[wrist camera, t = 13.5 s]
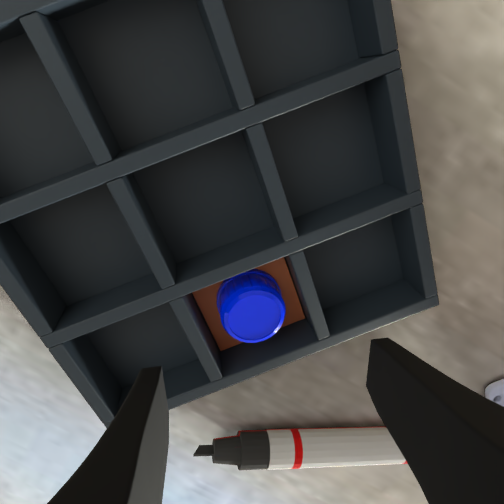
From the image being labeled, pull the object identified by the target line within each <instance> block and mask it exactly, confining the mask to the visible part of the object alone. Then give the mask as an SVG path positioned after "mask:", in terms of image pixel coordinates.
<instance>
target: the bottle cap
mask: <svg viewBox="0 0 504 504" xmlns="http://www.w3.org/2000/svg"><path fill="white" fill-rule="evenodd" d="M216 304H217V308H218V312H219V314H220V318H221V323H222V325H223V328H224V329H225V331H226V332H227V333H228V334H229V335H230V336H232V337H233V338H235V339H237V340H239V341H241V342H246V343H257V342H261V341H264V340H266V339H268V338H270V337H272V336H273V335H274V334H275V333H276V332H277V331H278V330H279V329H280V327H281V325H282V324H283V321H284V318H285V314H286V307H285V303H284V300H283V298H282V295H281V289H280V287H279V285H278V283H277V281H276V280H275V279H274V278H273V277H272V276H271V275H270V274H268V273H267V272H265V271H262V270H258V269H251V270H249V271H246V272H244V273H241V274H238V275H236V276H233V277H231V278H228V279H226V280H224V281H223V282H222V284H221V285H220V287H219V289H218V292H217V296H216Z"/></svg>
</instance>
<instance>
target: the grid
mask: <svg viewBox="0 0 504 504" xmlns="http://www.w3.org/2000/svg"><path fill="white" fill-rule="evenodd" d="M397 49H398V43H397V37H396V30H395V24H394V18H393V12H392V5H391V0H0V285H1V286H2V288H3V289H4V290H5V292H6V293H7V294H8V296H9V297H10V298H11V300H12V301H13V302H14V304H15V305H16V306H17V308H18V309H19V311H20V312H21V313H22V315H23V316H24V317H25V319H26V320H27V321H28V323H29V324H30V325H31V327H32V328H33V329H34V331H35V332H36V333H37V335H38V336H39V337H40V339H41V340H42V342H43V343H44V344H45V346H46V347H47V348H49V351H50V352H51V354H52V355H53V357H54V358H55V359H56V361H57V362H58V363H59V365H60V366H61V367H62V369H63V370H64V371H65V373H66V374H67V375H68V377H69V378H70V379H71V381H72V382H73V383H74V385H75V386H76V388H77V389H78V390H79V392H80V393H81V394H82V396H83V397H84V398H85V400H86V401H87V402H88V404H89V405H90V406H91V408H92V409H93V410H94V412H95V413H96V414H97V416H98V417H99V419H100V420H101V421H102V423H103V424H104V425H105V426H106V428H108V427H109V425H110V424H111V422H112V421H113V419H114V417H115V416H116V414H117V412H118V411H119V409H120V407H121V406H122V404H123V402H124V401H125V399H126V397H127V395H128V393H129V392H130V390H131V388H132V386H133V384H134V382H135V380H136V378H137V376H138V374H139V371H140V370H141V369H142V368H148V367H156V366H162V372H163V378H164V385H165V391H166V398H167V404H168V410H170V409H172V408H175V407H177V406H180V405H182V404H185V403H188V402H190V401H193V400H195V399H198V398H200V397H203V396H206V395H208V394H211V393H213V392H216V391H218V390H221V389H224V388H226V387H229V386H231V385H234V384H237V383H239V382H242V381H244V380H247V379H249V378H252V377H255V376H257V375H260V374H262V373H265V372H267V371H270V370H273V369H275V368H278V367H280V366H283V365H285V364H288V363H291V362H293V361H296V360H298V359H301V358H303V357H306V356H309V355H311V354H314V353H316V352H319V351H321V350H324V349H327V348H329V347H332V346H334V345H337V344H339V343H342V342H345V341H347V340H350V339H352V338H355V337H357V336H360V335H363V334H365V333H368V332H370V331H373V330H375V329H378V328H381V327H383V326H386V325H388V324H391V323H393V322H396V321H399V320H401V319H404V318H406V317H409V316H411V315H414V314H417V313H419V312H422V311H424V310H427V309H430V308H432V307H435V306H437V305H439V300H438V295H437V287H436V281H435V275H434V269H433V262H432V256H431V250H430V243H429V237H428V231H427V225H426V218H425V212H424V206H423V199H422V193H421V190H420V189H421V187H420V180H419V174H418V168H417V162H416V155H415V149H414V143H413V136H412V130H411V124H410V118H409V111H408V105H407V99H406V93H405V86H404V80H403V74H402V69H400V68H401V62H400V56H399V51H398V50H397ZM251 269H258V270H262V271H265V272H267V273H268V274H270V275H271V276H272V277H273V278H274V279H275V280H276V281H277V283H278V285H279V287H280V289H281V295H282V298H283V300H284V303H285V307H286V314H285V318H284V321H283V324H282V325H281V327H280V329H279V330H278V331H277V332H276V333H275V334H274V335H273V336H272V337H270V338H268V339H266V340H264V341H261V342H257V343H246V342H241V341H239V340H237V339H235V338H233V337H232V336H230V335H229V334H228V333H227V332H226V331H225V329H224V328H223V325H222V323H221V318H220V314H219V312H218V308H217V304H216V296H217V292H218V289H219V287H220V285H221V284H222V282H223V281H224V280H226V279H228V278H231V277H233V276H236V275H238V274H241V273H244V272H246V271H249V270H251Z"/></svg>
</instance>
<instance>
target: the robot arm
mask: <svg viewBox="0 0 504 504" xmlns="http://www.w3.org/2000/svg"><path fill="white" fill-rule="evenodd" d="M366 387H367V389H368V391H369V394H370V396H371V399H372V401H373V403H374V405H375V408H376V410H377V412H378V414H379V416H380V417H381V419H382V421H383V423H384V424H385V426H386V428H387V429H388V431H389V433H390V435H391V436H392V438H393V440H394V441H395V443H396V445H397V446H398V448H399V450H400V451H401V453H402V455H403V456H404V458H405V460H406V461H407V463H408V465H409V466H410V468H411V470H412V471H413V473H414V475H415V477H416V479H417V481H418V482H419V484H420V486H421V488H422V490H423V492H424V495H425V497H426V499H427V501H428V503H429V504H504V379H501V380H499V381H496V382H494V383H491V384H489V385H488V386H487V387H486V389H485V397H486V398H485V397H483V396H481V395H479V394H478V393H476V392H474V391H472V390H470V389H469V388H467V387H465V386H463V385H462V384H460V383H458V382H456V381H455V380H453V379H451V378H450V377H448V376H446V375H445V374H443V373H442V372H440V371H438V370H437V369H435V368H434V367H432V366H430V365H429V364H427V363H426V362H424V361H423V360H421V359H420V358H418V357H417V356H415V355H414V354H412V353H411V352H409V351H408V350H406V349H405V348H403V347H402V346H400V345H399V344H397V343H396V342H394V341H392V340H391V339H389V338H381V339H373V340H371V345H370V354H369V363H368V372H367V381H366ZM168 445H169V410H168V404H167V398H166V391H165V385H164V378H163V372H162V366H156V367H148V368H142V369H141V370H140V371H139V374H138V376H137V378H136V380H135V382H134V384H133V386H132V388H131V390H130V392H129V393H128V395H127V397H126V399H125V401H124V402H123V404H122V406H121V407H120V409H119V411H118V412H117V414H116V416H115V417H114V419H113V421H112V422H111V424H110V425H109V427H108V428H107V430H106V431H105V433H104V434H103V435H102V437H101V438H100V440H99V441H98V443H97V444H96V446H95V447H94V448H93V450H92V451H91V452H90V454H89V455H88V456H87V458H86V459H85V460H84V462H83V463H82V464H81V465H80V467H79V468H78V469H77V470H76V472H75V473H74V474H73V475H72V476H71V477H70V479H69V480H68V481H67V482H66V483H65V484H64V486H63V487H62V488H61V489H60V490H59V491H58V492H57V494H56V495H55V496H54V497H53V498H52V499H51V500H50V501H49V502H48V503H47V504H162V497H163V488H164V480H165V471H166V463H167V454H168Z"/></svg>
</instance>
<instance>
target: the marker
mask: <svg viewBox="0 0 504 504" xmlns="http://www.w3.org/2000/svg"><path fill="white" fill-rule="evenodd" d="M194 456H212V459H213V463H218V464H230V465H237V466H238V469H239V470H253V469H267V470H274V469H296V468H319V467H341V466H364V465H387V464H408V463H407V461H406V460H405V458H404V456H403V455H402V453H401V451H400V450H399V448H398V446H397V445H396V443H395V441H394V440H393V438H392V436H391V435H390V433H389V431H388V429H387V428H386V426H380V427H338V428H296V429H265V430H247V431H238V434H237V435H236V436H230V437H223V438H216V439H213V445H199V447H198V449H197V450H196V452H195V453H194Z"/></svg>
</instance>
